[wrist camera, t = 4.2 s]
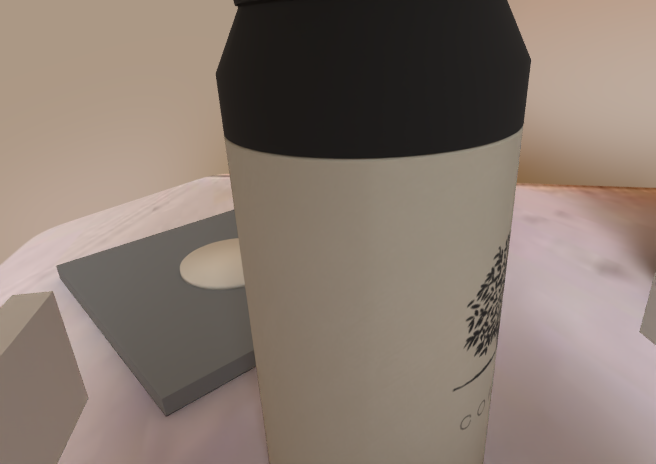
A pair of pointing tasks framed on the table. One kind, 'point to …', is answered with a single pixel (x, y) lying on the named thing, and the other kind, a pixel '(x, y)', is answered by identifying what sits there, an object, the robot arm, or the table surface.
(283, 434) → the travel mug
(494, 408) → the table surface
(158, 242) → the mat
